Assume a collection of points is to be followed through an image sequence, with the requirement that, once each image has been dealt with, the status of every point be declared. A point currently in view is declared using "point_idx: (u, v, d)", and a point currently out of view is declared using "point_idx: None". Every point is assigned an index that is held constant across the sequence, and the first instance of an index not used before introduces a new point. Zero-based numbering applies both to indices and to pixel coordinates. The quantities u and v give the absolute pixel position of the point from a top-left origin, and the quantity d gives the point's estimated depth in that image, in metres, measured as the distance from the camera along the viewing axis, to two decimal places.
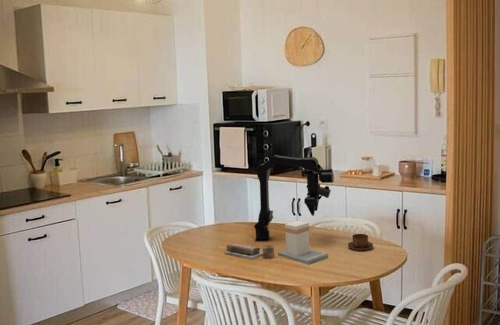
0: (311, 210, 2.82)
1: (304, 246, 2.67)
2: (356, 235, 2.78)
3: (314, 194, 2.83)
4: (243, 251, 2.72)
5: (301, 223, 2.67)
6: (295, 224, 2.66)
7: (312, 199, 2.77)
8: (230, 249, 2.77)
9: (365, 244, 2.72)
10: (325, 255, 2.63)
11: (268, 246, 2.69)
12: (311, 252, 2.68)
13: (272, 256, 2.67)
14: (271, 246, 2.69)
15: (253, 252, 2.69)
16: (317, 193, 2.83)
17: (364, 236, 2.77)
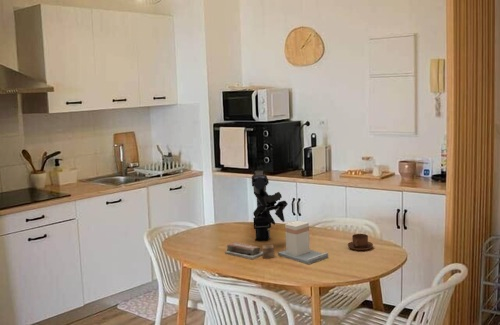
0: (270, 220, 2.76)
1: (304, 246, 2.67)
2: (356, 235, 2.78)
3: (265, 205, 2.79)
4: (243, 251, 2.72)
5: (301, 223, 2.67)
6: (295, 224, 2.66)
7: (256, 209, 2.74)
8: (231, 249, 2.77)
9: (365, 244, 2.72)
10: (325, 255, 2.63)
11: (268, 246, 2.69)
12: (311, 252, 2.68)
13: (272, 256, 2.67)
14: (271, 246, 2.69)
15: (253, 252, 2.69)
16: (266, 203, 2.78)
17: (364, 236, 2.77)
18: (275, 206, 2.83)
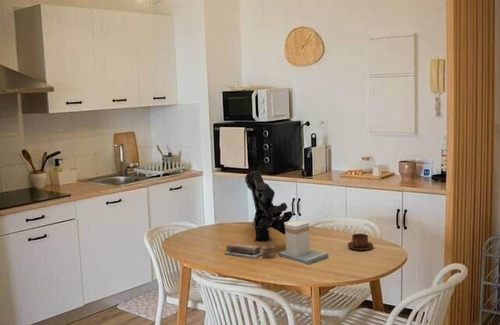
0: (280, 230, 2.75)
1: (304, 246, 2.67)
2: (356, 235, 2.78)
3: (271, 216, 2.77)
4: (244, 251, 2.72)
5: (301, 223, 2.67)
6: (295, 224, 2.66)
7: (261, 220, 2.72)
8: (230, 249, 2.76)
9: (365, 244, 2.72)
10: (325, 255, 2.63)
11: (268, 246, 2.69)
12: (311, 252, 2.68)
13: (272, 256, 2.67)
14: (271, 246, 2.69)
15: (255, 251, 2.70)
16: (271, 213, 2.76)
17: (364, 236, 2.77)
18: None
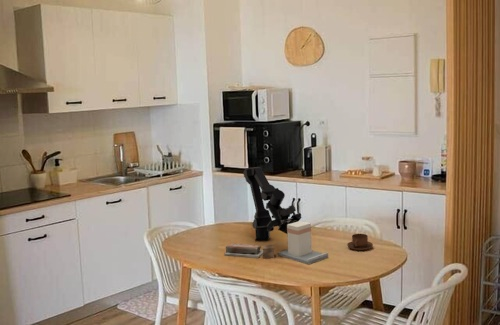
0: None
1: (306, 246, 2.66)
2: (356, 235, 2.78)
3: (279, 219, 2.73)
4: (246, 251, 2.72)
5: (303, 223, 2.66)
6: (297, 224, 2.65)
7: (269, 223, 2.68)
8: (230, 250, 2.75)
9: (365, 244, 2.72)
10: (325, 255, 2.63)
11: (268, 246, 2.69)
12: (311, 252, 2.68)
13: (272, 256, 2.67)
14: (271, 246, 2.69)
15: (257, 251, 2.71)
16: (279, 216, 2.72)
17: (364, 236, 2.77)
18: None
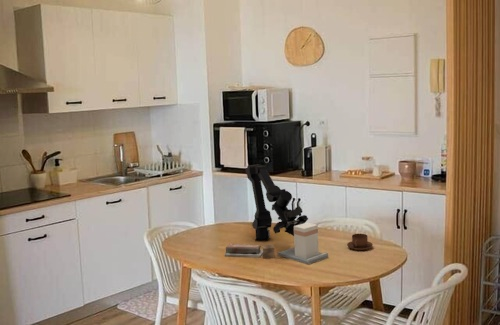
0: None
1: (313, 248, 2.63)
2: (356, 235, 2.78)
3: (285, 220, 2.69)
4: (247, 251, 2.72)
5: (310, 225, 2.63)
6: (303, 226, 2.62)
7: (276, 225, 2.65)
8: (230, 251, 2.74)
9: (365, 244, 2.72)
10: (325, 255, 2.63)
11: (268, 246, 2.69)
12: None
13: (272, 256, 2.67)
14: (271, 246, 2.69)
15: (258, 250, 2.71)
16: (286, 218, 2.68)
17: (364, 236, 2.77)
18: None
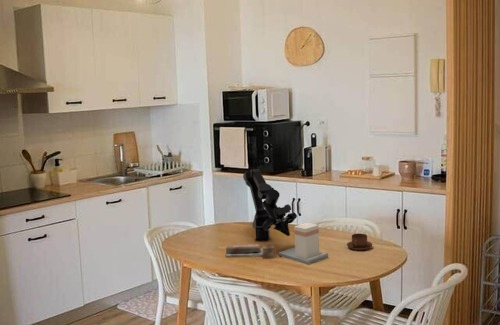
0: (284, 231, 2.74)
1: (314, 248, 2.62)
2: (355, 235, 2.78)
3: (274, 218, 2.75)
4: (248, 251, 2.72)
5: (311, 225, 2.63)
6: (304, 226, 2.62)
7: (265, 222, 2.71)
8: (231, 251, 2.73)
9: (364, 244, 2.73)
10: (325, 255, 2.63)
11: (268, 246, 2.69)
12: None
13: (272, 256, 2.67)
14: (271, 246, 2.69)
15: (259, 249, 2.73)
16: (275, 215, 2.74)
17: (363, 236, 2.78)
18: None
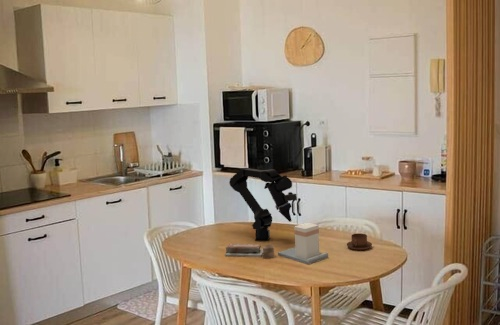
0: (288, 217, 2.86)
1: (314, 248, 2.62)
2: (355, 235, 2.79)
3: (283, 202, 2.84)
4: (247, 251, 2.72)
5: (311, 225, 2.63)
6: (304, 226, 2.62)
7: (286, 204, 2.78)
8: (231, 251, 2.74)
9: (364, 244, 2.73)
10: (325, 255, 2.63)
11: (268, 246, 2.69)
12: None
13: (272, 256, 2.67)
14: (271, 246, 2.69)
15: (259, 250, 2.72)
16: (286, 200, 2.84)
17: (363, 236, 2.78)
18: None
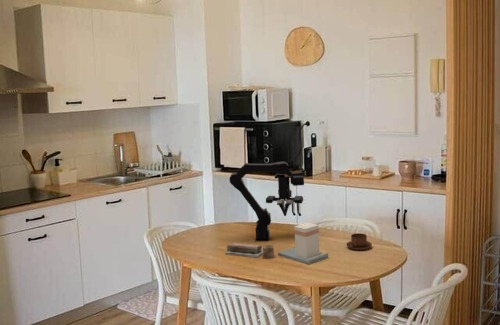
0: (287, 210, 2.95)
1: (314, 248, 2.62)
2: (355, 235, 2.79)
3: (289, 196, 2.95)
4: (246, 250, 2.73)
5: (311, 225, 2.63)
6: (304, 226, 2.62)
7: (302, 197, 2.93)
8: (231, 249, 2.77)
9: (364, 244, 2.73)
10: (325, 255, 2.63)
11: (268, 246, 2.69)
12: None
13: (272, 256, 2.67)
14: (271, 246, 2.69)
15: (257, 250, 2.71)
16: (290, 194, 2.96)
17: (363, 236, 2.78)
18: (278, 198, 2.96)
